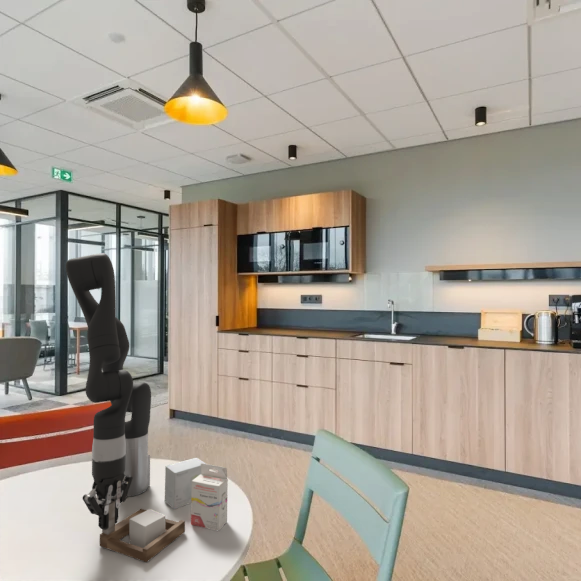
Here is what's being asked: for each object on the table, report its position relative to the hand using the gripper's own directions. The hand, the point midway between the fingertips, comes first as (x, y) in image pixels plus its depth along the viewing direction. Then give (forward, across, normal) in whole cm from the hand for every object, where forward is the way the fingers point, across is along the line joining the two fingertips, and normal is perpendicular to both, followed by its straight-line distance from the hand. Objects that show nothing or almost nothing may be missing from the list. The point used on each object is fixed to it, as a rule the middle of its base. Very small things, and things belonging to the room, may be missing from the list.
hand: (108, 525), depth 102 cm
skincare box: (+5, -26, +3) cm, 27 cm away
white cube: (+5, -5, +8) cm, 10 cm away
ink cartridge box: (+5, -18, +17) cm, 25 cm away
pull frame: (+5, -5, +7) cm, 10 cm away
